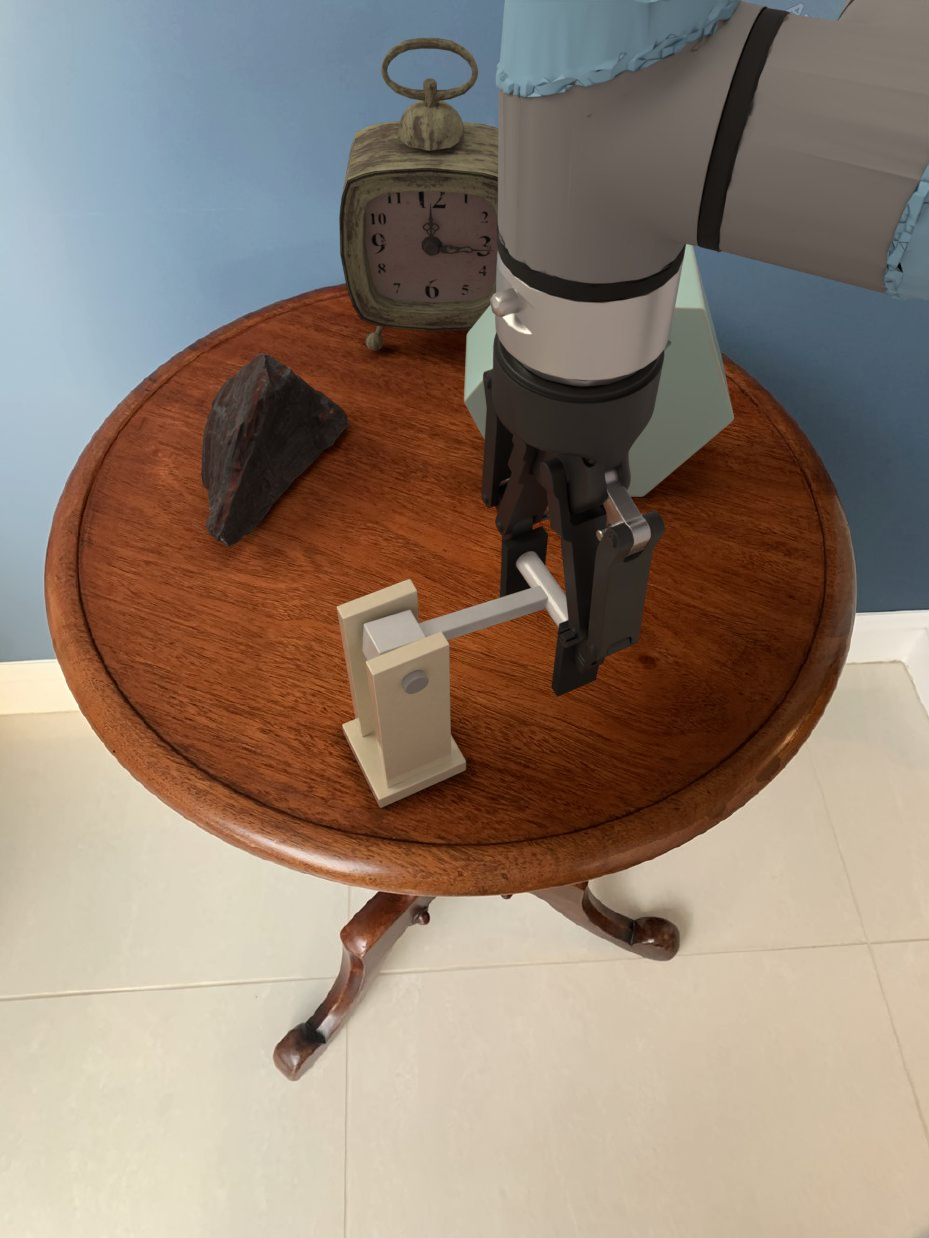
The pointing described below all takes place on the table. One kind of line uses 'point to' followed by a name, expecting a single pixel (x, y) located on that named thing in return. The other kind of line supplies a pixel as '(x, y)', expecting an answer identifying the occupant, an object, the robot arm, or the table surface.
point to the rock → (261, 443)
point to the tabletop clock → (421, 211)
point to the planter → (685, 394)
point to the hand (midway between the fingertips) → (546, 642)
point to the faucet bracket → (398, 701)
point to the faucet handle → (472, 612)
